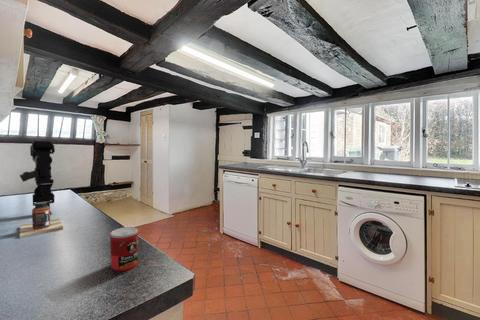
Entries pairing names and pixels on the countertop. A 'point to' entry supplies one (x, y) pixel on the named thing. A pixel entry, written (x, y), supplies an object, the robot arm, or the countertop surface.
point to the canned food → (124, 248)
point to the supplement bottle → (41, 215)
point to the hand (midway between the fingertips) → (44, 196)
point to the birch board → (28, 229)
